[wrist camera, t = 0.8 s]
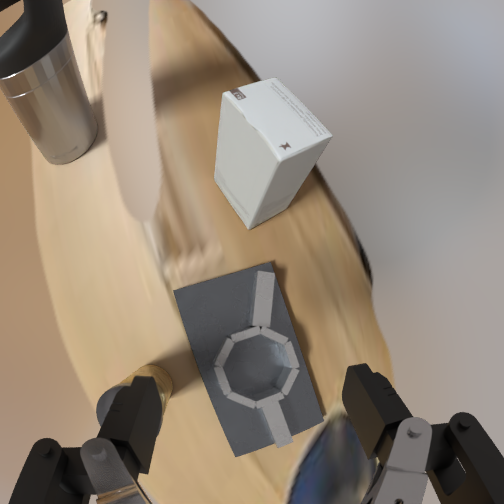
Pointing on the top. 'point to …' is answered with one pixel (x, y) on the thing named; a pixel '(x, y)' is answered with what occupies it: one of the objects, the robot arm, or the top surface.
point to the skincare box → (265, 148)
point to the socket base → (249, 358)
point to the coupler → (106, 399)
